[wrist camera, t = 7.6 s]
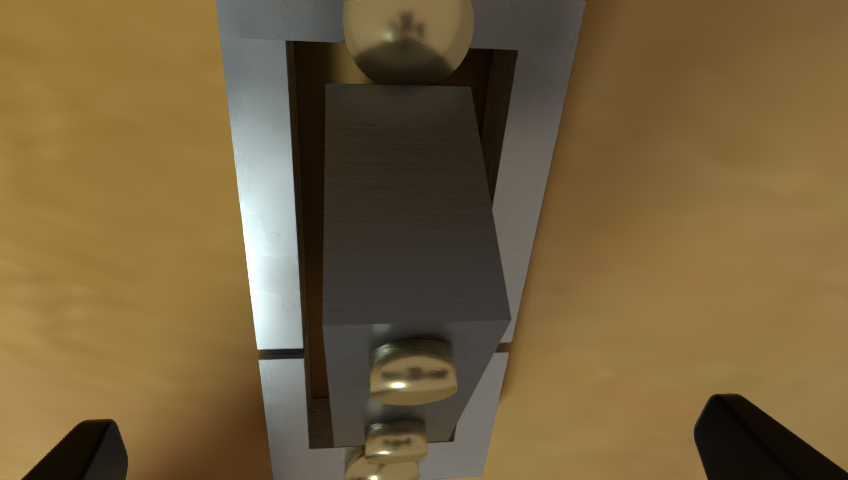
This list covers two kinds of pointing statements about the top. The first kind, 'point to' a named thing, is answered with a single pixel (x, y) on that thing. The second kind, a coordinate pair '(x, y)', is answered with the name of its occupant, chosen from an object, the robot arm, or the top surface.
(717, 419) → the robot arm
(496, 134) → the end link
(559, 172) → the top surface
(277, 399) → the end link
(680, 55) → the top surface
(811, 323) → the top surface
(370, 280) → the block with brass studs
